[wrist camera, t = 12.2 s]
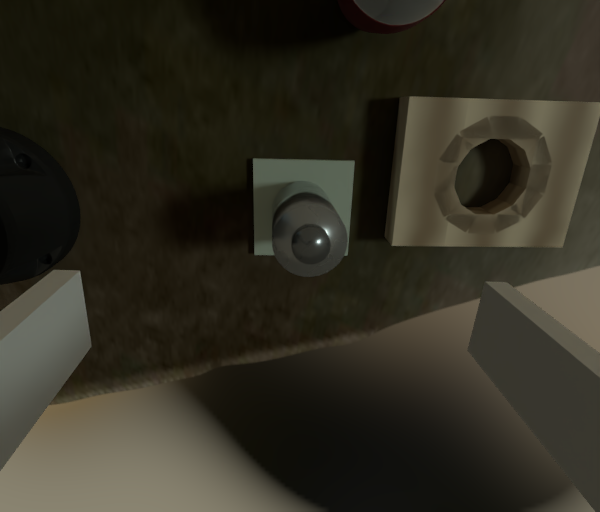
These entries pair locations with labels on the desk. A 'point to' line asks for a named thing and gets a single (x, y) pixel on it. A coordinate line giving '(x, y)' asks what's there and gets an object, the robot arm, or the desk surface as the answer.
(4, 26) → the desk surface
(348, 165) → the mat
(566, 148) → the housing
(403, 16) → the mug
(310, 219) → the gray knobbed peg
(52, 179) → the robot arm
